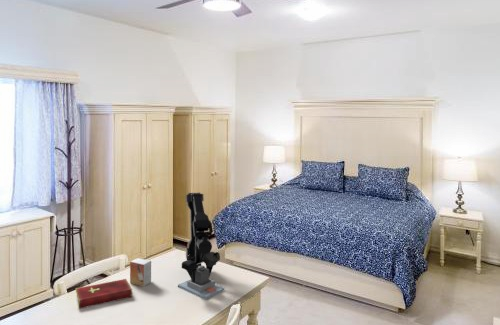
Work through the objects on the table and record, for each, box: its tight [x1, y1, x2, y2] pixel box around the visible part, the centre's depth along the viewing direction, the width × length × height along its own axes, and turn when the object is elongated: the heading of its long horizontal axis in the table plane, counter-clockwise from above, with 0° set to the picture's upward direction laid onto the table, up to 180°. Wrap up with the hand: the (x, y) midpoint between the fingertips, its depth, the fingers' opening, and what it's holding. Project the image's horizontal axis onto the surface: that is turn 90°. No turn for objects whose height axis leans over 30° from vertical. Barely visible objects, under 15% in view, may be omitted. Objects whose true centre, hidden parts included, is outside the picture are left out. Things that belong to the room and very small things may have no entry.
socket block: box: [177, 278, 225, 300], centre depth 170 cm, size 18×12×4 cm, turn 50°
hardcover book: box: [75, 278, 133, 309], centre depth 160 cm, size 12×21×4 cm, turn 120°
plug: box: [193, 265, 210, 286], centre depth 169 cm, size 5×5×9 cm
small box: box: [129, 257, 152, 287], centre depth 174 cm, size 8×6×10 cm
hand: (201, 278), depth 170 cm, fingers open, 9 cm apart
